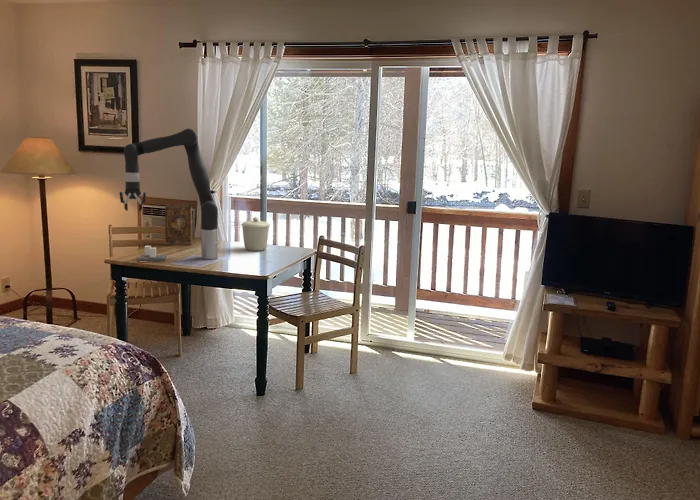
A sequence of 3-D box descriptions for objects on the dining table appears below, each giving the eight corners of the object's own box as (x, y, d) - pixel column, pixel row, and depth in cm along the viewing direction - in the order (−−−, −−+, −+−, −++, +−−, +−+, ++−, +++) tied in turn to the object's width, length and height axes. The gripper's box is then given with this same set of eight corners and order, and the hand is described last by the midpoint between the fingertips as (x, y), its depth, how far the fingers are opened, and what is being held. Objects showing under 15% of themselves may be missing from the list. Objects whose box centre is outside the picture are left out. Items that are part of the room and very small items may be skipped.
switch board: (166, 257, 324) (166, 254, 323) (165, 261, 314) (164, 258, 313) (141, 258, 321) (141, 254, 320) (138, 262, 311) (138, 258, 310)
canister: (235, 248, 359) (235, 216, 354) (259, 246, 370) (260, 214, 366) (250, 253, 345) (251, 219, 341) (275, 250, 357) (275, 218, 353)
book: (192, 243, 367) (191, 206, 363) (192, 245, 362) (191, 207, 357) (166, 244, 363) (165, 205, 358) (165, 245, 358) (164, 207, 353)
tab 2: (156, 256, 316) (156, 247, 315) (155, 257, 313) (155, 248, 312) (150, 256, 316) (150, 247, 315) (150, 257, 312) (149, 248, 311)
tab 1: (151, 254, 321) (150, 245, 320) (150, 255, 317) (150, 246, 316) (145, 254, 320) (145, 245, 319) (144, 255, 317) (144, 246, 316)
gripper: (147, 180, 314) (147, 209, 317) (119, 179, 311) (120, 209, 314) (145, 181, 307) (146, 211, 310) (117, 180, 304) (118, 211, 307)
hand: (133, 210), depth 312 cm, fingers open, 6 cm apart
